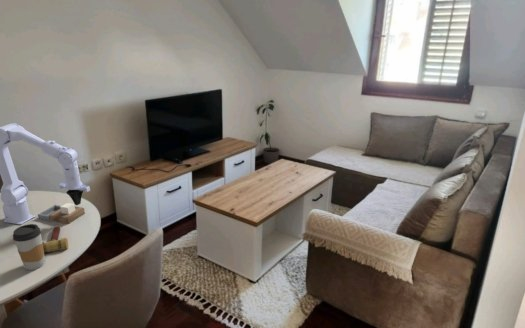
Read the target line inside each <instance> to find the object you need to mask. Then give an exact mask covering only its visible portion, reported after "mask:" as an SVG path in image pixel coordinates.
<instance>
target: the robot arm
mask: <svg viewBox="0 0 525 328" xmlns="http://www.w3.org/2000/svg"><path fill="white" fill-rule="evenodd" d="M19 141H22V142H25V143H27V144H30V145H32V146H34V147H38V148H39V149H41V151H42V153H43V154H46V155H48V156H51V157H52V158H54V159H57V161H58V163H59V164H60V165H61V166H62V170H63V175H64V180H65V182H61V183H59V184H58V188H59V189H66V190H67V191H66V192H65V193H66V194H67V195H68V196H69V198H71V200H72V203H73V204H74V205H75V206H79V205H80V204H81V203H82V197H83V196H82V195H83V193H84V192H85V193H88V192H91V188H90V187H91V186H89V185H86V184H83V182H82V181H81V176H80V169H79V166H78V164H79V163H78V161H77V159H78V158H79V153H78V151H77V150H76V149H75V148H74V147H66V146H63V145H61V144H59V143H57V142H56V140H44V139H42V138H41V137H39V136H37V135H35V134H33V133H32V132H30V131H28V130H26V129H25V128H24V127H23V126H22V125H19V124H17V123H15V122H9V123H8V124H6V125H3V126H0V178H1V180H2V186H1V188H0V193H1V195H0V200H1V202H2V203H3V205H2V212H3V215H4V218H5V219H4V220H3V221H4V223H8V224H9V223H10V224H15V225H22V224H24V223H26V222H28V221H29V220H32V219H33V218H35V217H36V215H34V214H31V213H30V209H29V208H30V207H29V205H28V200H27V196H28V194H29V189H28V187H27V186H26V185H25V184H24V181H23V180H20V179H19V177H18V173H17V171H16V169H15V166H14V162H13V159H12V156H11V153H10V150H9V145H10V144H11V143H13V142H19Z"/></svg>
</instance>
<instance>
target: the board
mask: <svg viewBox="0 0 525 328" xmlns="http://www.w3.org/2000/svg"><path fill="white" fill-rule="evenodd" d="M85 214H86V212H85V208H84V207H82V206H75V211H73V212H72V213H70V214H64V213H61V208H60V209H59V210H57V211H55V212H53V213H52V214H50V215H49V217H50V221H49V222H55V223H62V224H67V225H69V224H71V223H72V222H74V221H76V220H78V219H79V218H80V217H81V216H84V215H85Z"/></svg>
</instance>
